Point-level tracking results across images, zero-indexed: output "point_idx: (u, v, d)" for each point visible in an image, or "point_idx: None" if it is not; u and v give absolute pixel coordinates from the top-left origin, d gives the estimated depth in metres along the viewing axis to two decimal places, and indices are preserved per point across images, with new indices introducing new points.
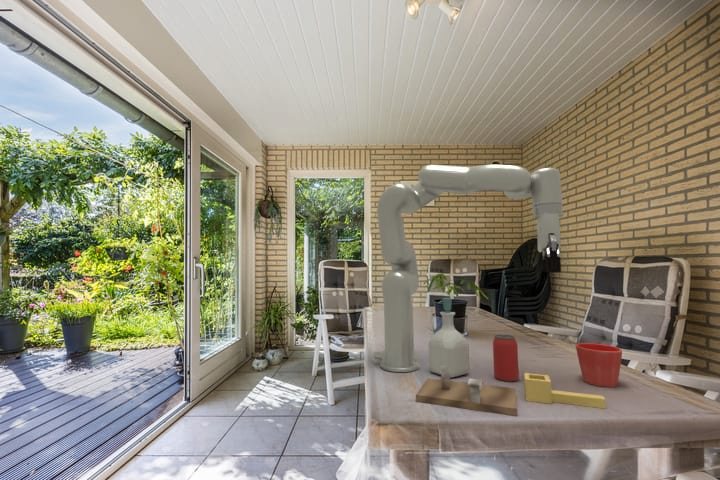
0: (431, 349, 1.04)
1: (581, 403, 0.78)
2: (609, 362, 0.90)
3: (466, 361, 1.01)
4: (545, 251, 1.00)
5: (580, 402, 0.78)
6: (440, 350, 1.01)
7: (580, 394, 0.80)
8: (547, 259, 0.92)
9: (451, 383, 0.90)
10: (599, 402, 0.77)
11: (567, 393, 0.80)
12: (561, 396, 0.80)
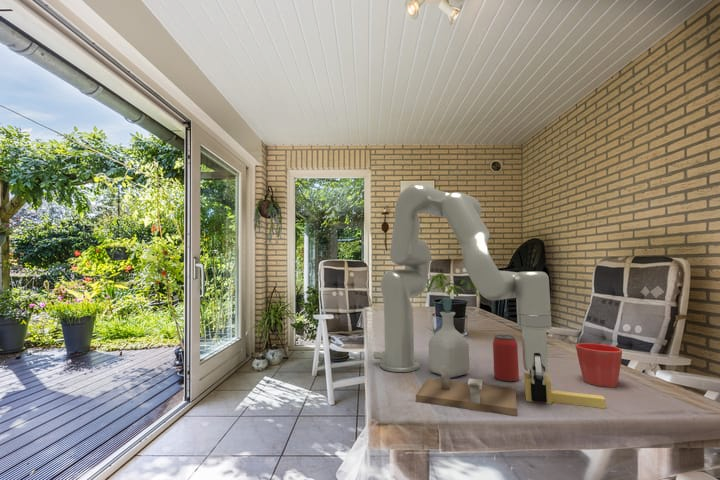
0: (431, 349, 1.04)
1: (581, 403, 0.78)
2: (609, 362, 0.90)
3: (466, 361, 1.01)
4: None
5: (580, 402, 0.78)
6: (440, 350, 1.01)
7: (580, 394, 0.80)
8: (531, 385, 0.81)
9: (451, 383, 0.90)
10: (599, 402, 0.77)
11: (567, 393, 0.80)
12: (561, 396, 0.80)
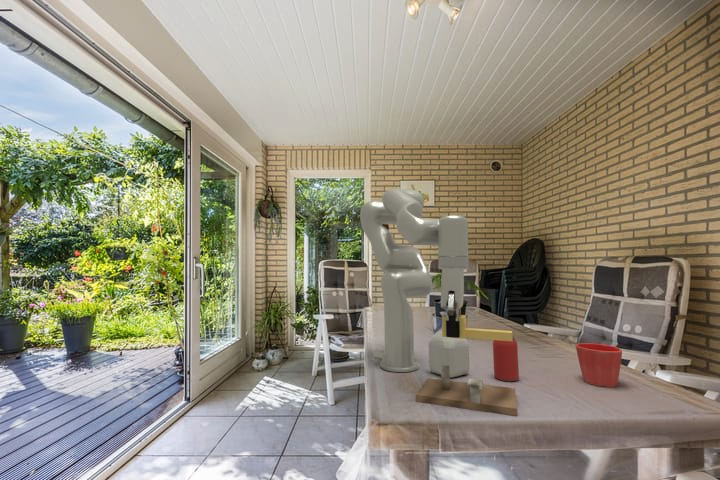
0: (431, 349, 1.04)
1: (491, 337, 0.83)
2: (609, 362, 0.90)
3: (466, 361, 1.01)
4: None
5: (490, 336, 0.83)
6: (440, 350, 1.01)
7: (492, 330, 0.84)
8: (446, 322, 0.85)
9: (451, 383, 0.90)
10: (506, 336, 0.82)
11: (480, 329, 0.85)
12: (474, 332, 0.84)
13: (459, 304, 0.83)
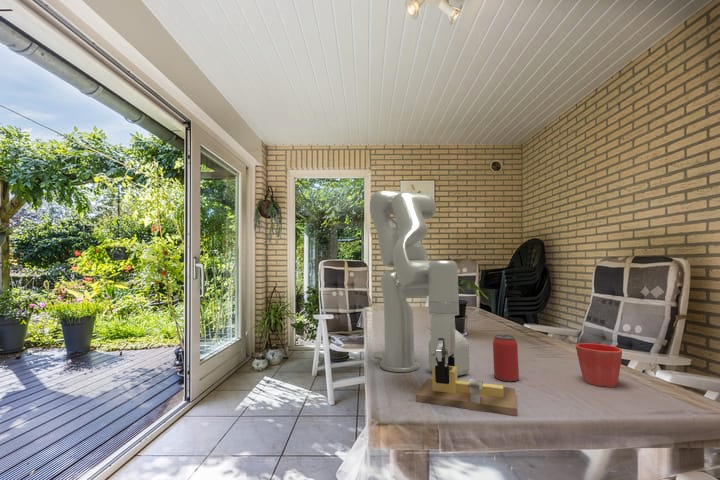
0: None
1: (482, 392, 0.81)
2: (609, 362, 0.90)
3: (466, 361, 1.01)
4: None
5: (481, 391, 0.81)
6: None
7: (483, 384, 0.83)
8: (436, 367, 0.82)
9: None
10: (497, 391, 0.80)
11: None
12: (464, 386, 0.83)
13: (449, 352, 0.82)
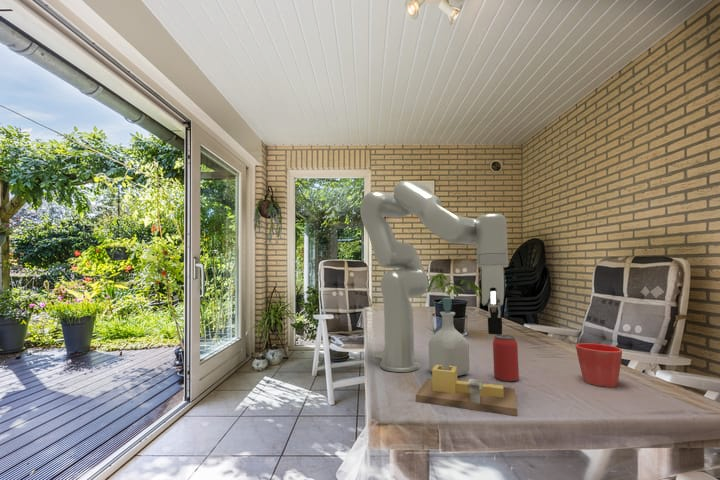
0: (431, 349, 1.04)
1: (482, 392, 0.81)
2: (609, 362, 0.90)
3: (466, 361, 1.01)
4: (491, 304, 0.91)
5: (481, 391, 0.81)
6: (440, 350, 1.01)
7: (483, 384, 0.83)
8: (488, 319, 0.85)
9: None
10: (497, 391, 0.80)
11: None
12: (464, 386, 0.83)
13: (501, 301, 0.83)
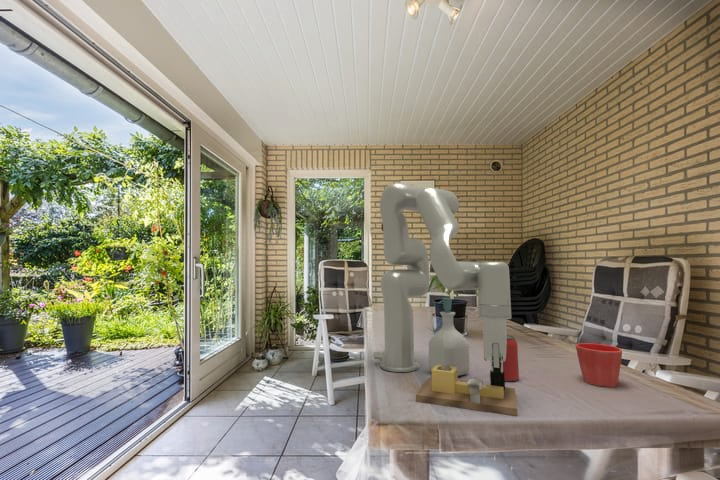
0: (431, 349, 1.04)
1: (481, 393, 0.81)
2: (609, 362, 0.90)
3: (466, 361, 1.01)
4: (493, 357, 0.85)
5: (481, 392, 0.81)
6: (440, 350, 1.01)
7: (483, 385, 0.82)
8: (491, 374, 0.83)
9: None
10: (497, 393, 0.79)
11: None
12: (464, 387, 0.82)
13: (504, 357, 0.79)
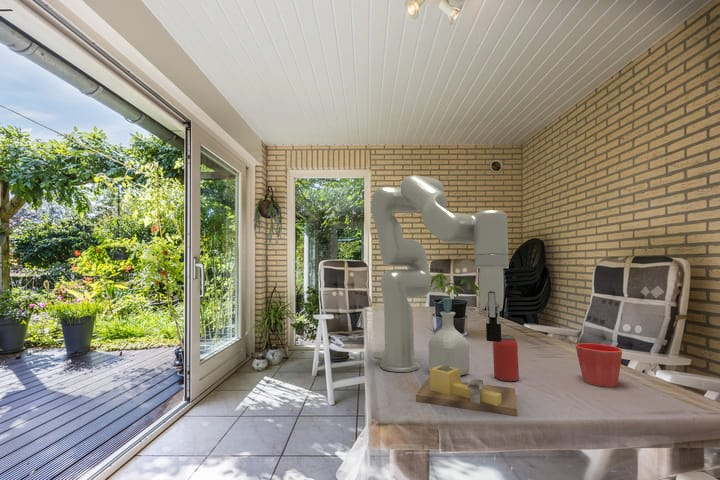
0: (431, 349, 1.04)
1: None
2: (609, 362, 0.90)
3: (466, 361, 1.01)
4: None
5: None
6: (440, 350, 1.01)
7: (480, 389, 0.79)
8: (487, 325, 0.80)
9: None
10: (491, 399, 0.76)
11: None
12: (460, 389, 0.81)
13: (500, 306, 0.76)
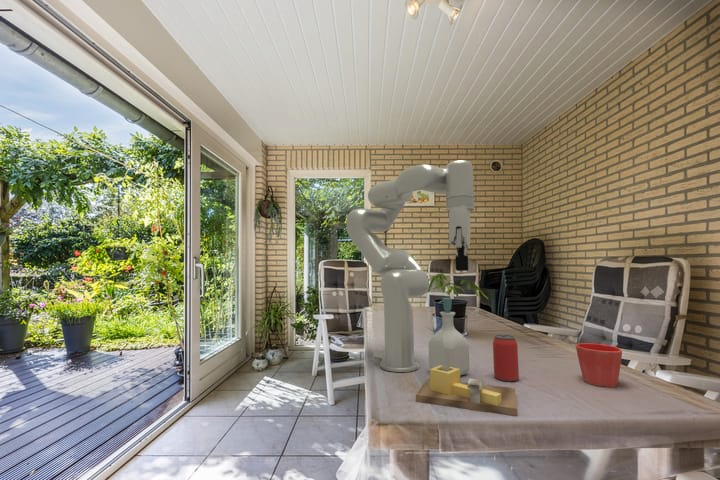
0: (431, 349, 1.04)
1: None
2: (609, 362, 0.90)
3: (466, 361, 1.01)
4: None
5: None
6: (440, 350, 1.01)
7: (480, 389, 0.79)
8: (456, 258, 0.94)
9: None
10: (491, 399, 0.76)
11: None
12: (460, 389, 0.81)
13: (466, 238, 0.90)
